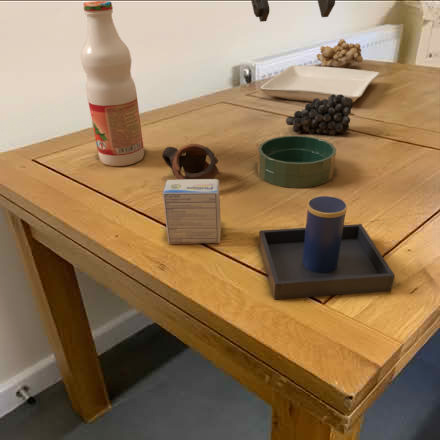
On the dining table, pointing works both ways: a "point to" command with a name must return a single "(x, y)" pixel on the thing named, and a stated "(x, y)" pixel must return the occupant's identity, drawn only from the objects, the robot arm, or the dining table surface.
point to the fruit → (323, 116)
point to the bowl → (296, 161)
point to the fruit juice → (111, 89)
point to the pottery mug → (191, 161)
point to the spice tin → (323, 233)
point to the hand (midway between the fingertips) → (297, 14)
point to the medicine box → (192, 211)
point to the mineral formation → (340, 55)
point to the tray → (331, 281)
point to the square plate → (318, 83)
